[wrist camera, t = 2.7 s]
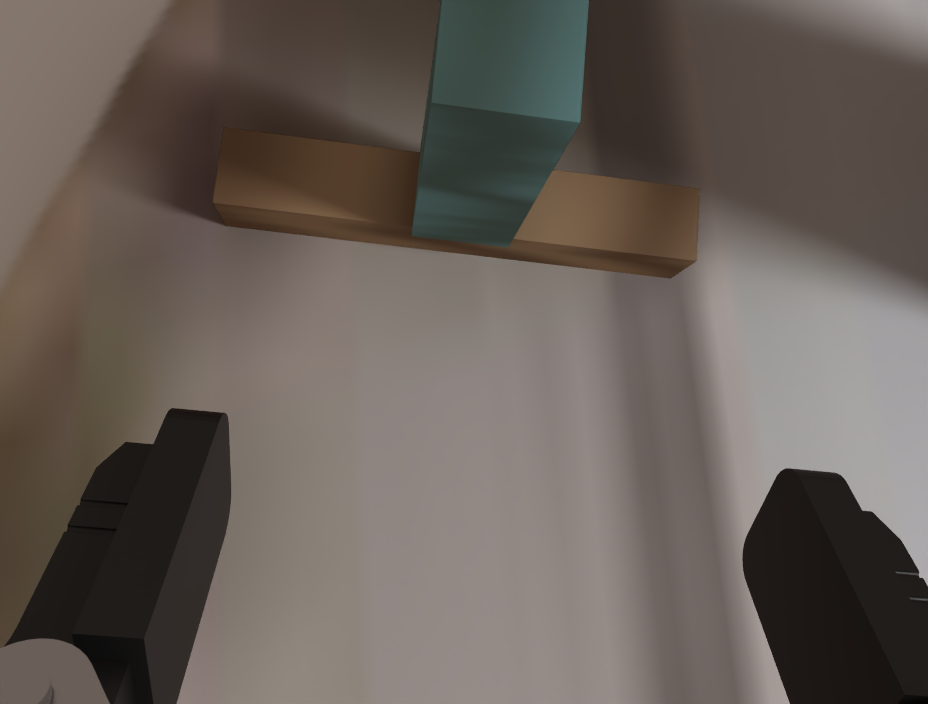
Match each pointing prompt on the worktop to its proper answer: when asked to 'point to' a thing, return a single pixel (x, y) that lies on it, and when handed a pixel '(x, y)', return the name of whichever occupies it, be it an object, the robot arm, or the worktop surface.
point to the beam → (472, 161)
